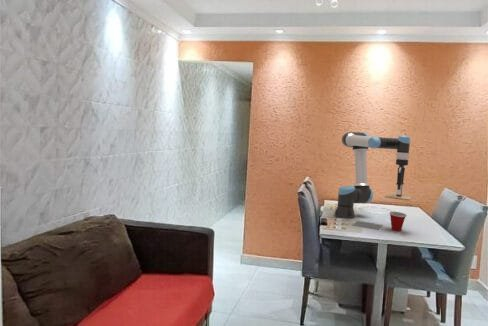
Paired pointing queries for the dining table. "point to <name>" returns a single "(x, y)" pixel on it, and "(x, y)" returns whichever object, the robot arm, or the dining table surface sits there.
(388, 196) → the lid
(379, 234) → the dining table surface
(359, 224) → the mat
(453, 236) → the dining table surface
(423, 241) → the dining table surface
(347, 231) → the dining table surface
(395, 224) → the plastic cup
